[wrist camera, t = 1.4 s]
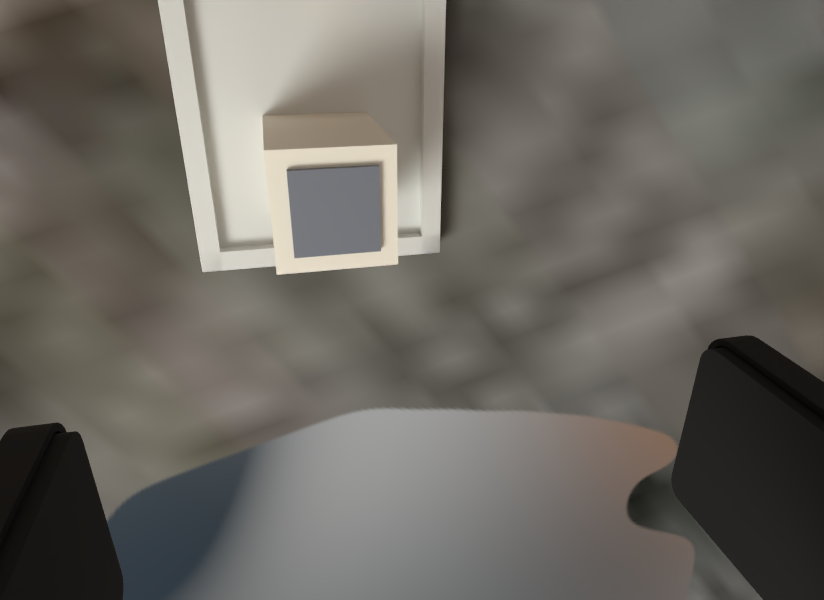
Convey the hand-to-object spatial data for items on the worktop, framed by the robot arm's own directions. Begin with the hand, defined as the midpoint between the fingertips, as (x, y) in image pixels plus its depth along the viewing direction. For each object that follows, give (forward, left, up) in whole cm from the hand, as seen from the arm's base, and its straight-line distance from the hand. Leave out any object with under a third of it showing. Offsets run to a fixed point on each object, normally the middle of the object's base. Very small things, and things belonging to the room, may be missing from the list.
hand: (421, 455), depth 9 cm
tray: (-4, 0, -18) cm, 19 cm away
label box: (0, 0, -18) cm, 18 cm away
